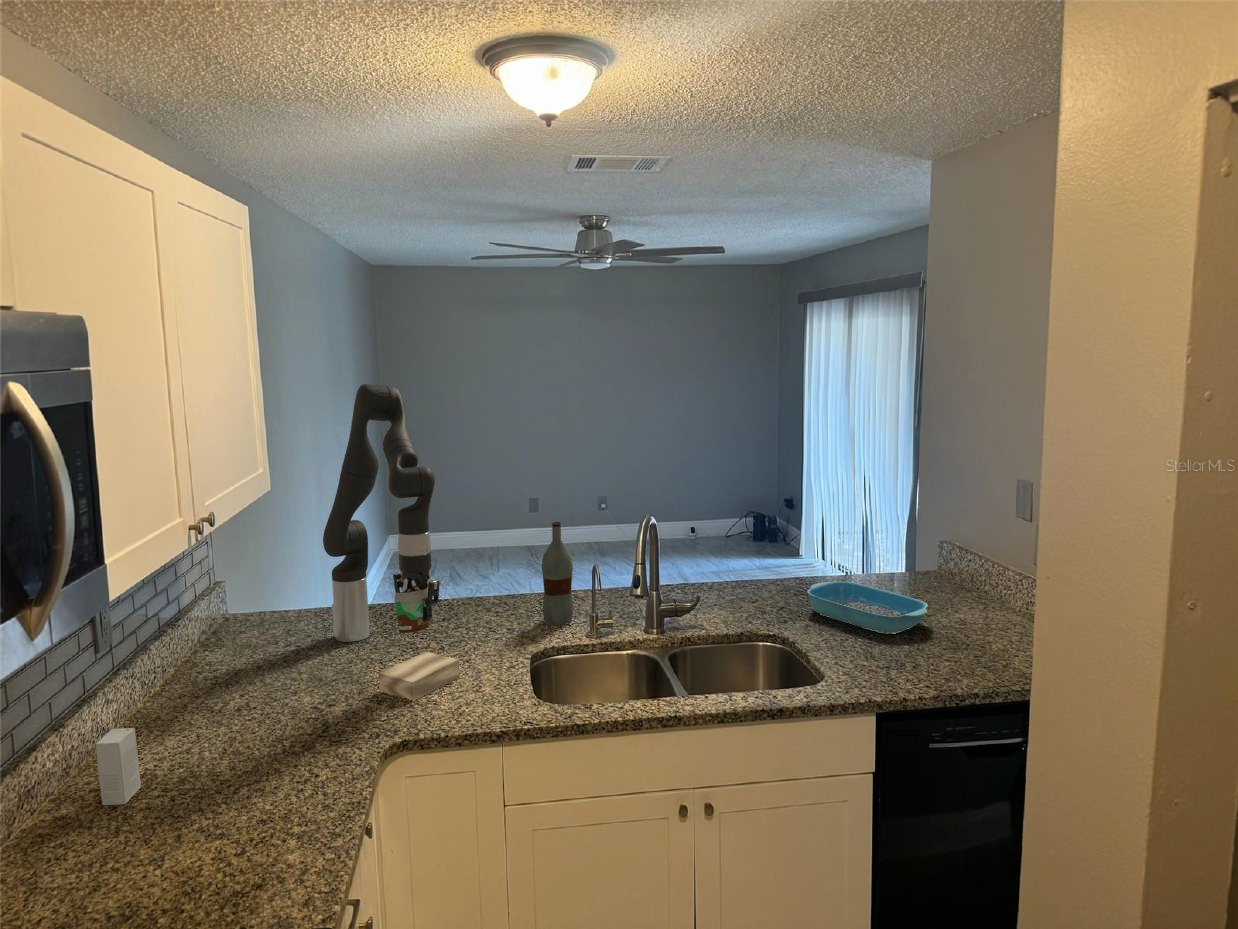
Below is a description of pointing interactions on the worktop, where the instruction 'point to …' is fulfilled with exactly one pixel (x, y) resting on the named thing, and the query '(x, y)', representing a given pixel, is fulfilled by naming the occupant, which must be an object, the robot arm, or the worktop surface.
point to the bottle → (557, 581)
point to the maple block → (419, 675)
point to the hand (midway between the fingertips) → (417, 618)
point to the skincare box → (118, 766)
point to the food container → (411, 610)
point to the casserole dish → (833, 592)
